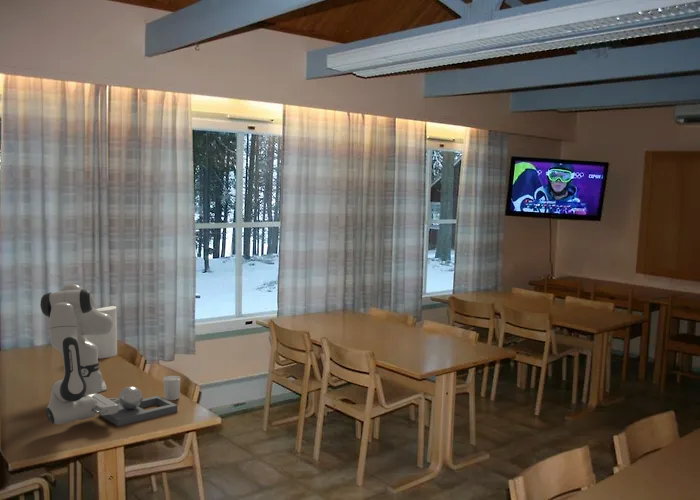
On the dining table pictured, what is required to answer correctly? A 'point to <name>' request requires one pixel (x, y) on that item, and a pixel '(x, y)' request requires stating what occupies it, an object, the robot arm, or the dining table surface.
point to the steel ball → (130, 397)
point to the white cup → (172, 387)
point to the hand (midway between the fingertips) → (119, 400)
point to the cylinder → (106, 336)
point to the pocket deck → (142, 411)
